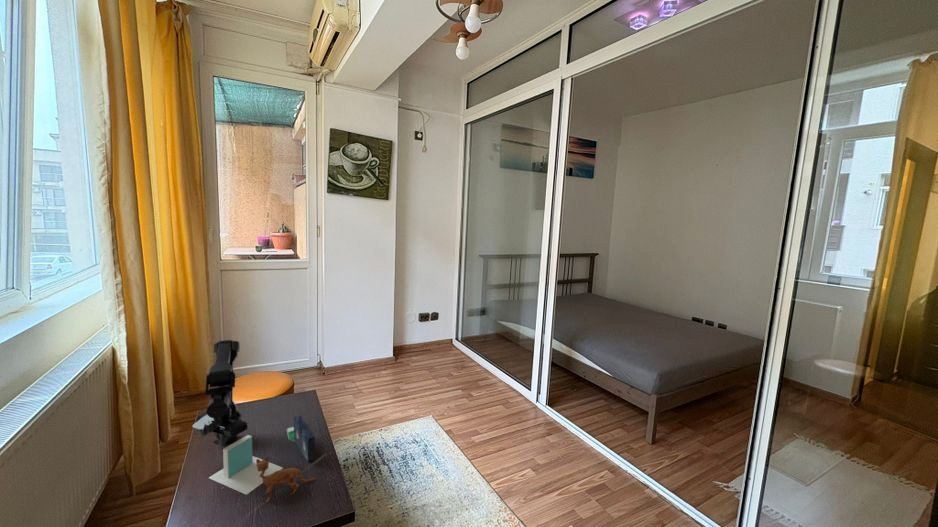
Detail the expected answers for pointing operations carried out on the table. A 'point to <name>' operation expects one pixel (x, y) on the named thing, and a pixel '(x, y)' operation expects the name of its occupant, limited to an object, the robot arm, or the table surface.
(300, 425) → the vhs cassette tape
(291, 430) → the smartphone
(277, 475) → the cat figurine
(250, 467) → the mat
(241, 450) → the tile
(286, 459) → the table surface
